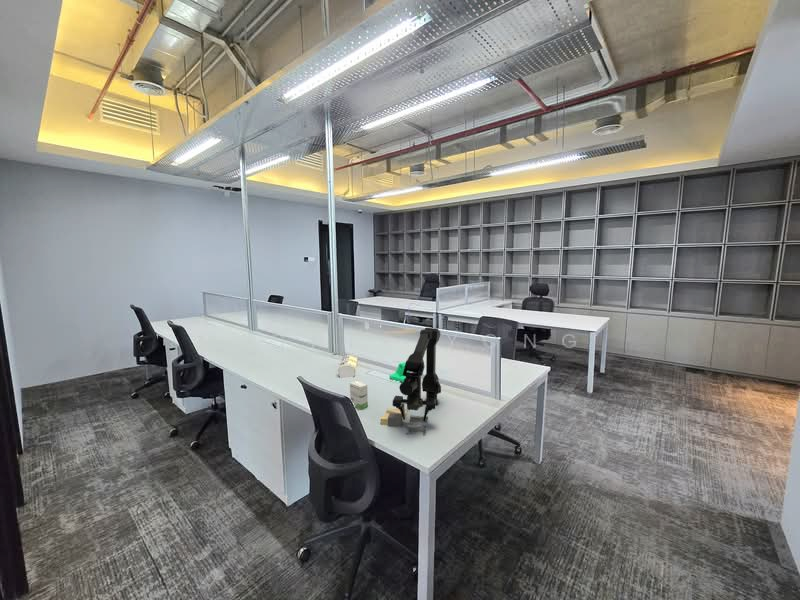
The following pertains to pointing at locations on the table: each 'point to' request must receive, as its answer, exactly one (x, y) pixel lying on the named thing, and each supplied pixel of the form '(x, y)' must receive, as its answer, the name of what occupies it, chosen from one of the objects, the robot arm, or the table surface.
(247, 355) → the table surface
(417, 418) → the pair of grey brackets
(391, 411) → the pad
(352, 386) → the ink box
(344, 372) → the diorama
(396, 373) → the camera mount
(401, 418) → the plug
